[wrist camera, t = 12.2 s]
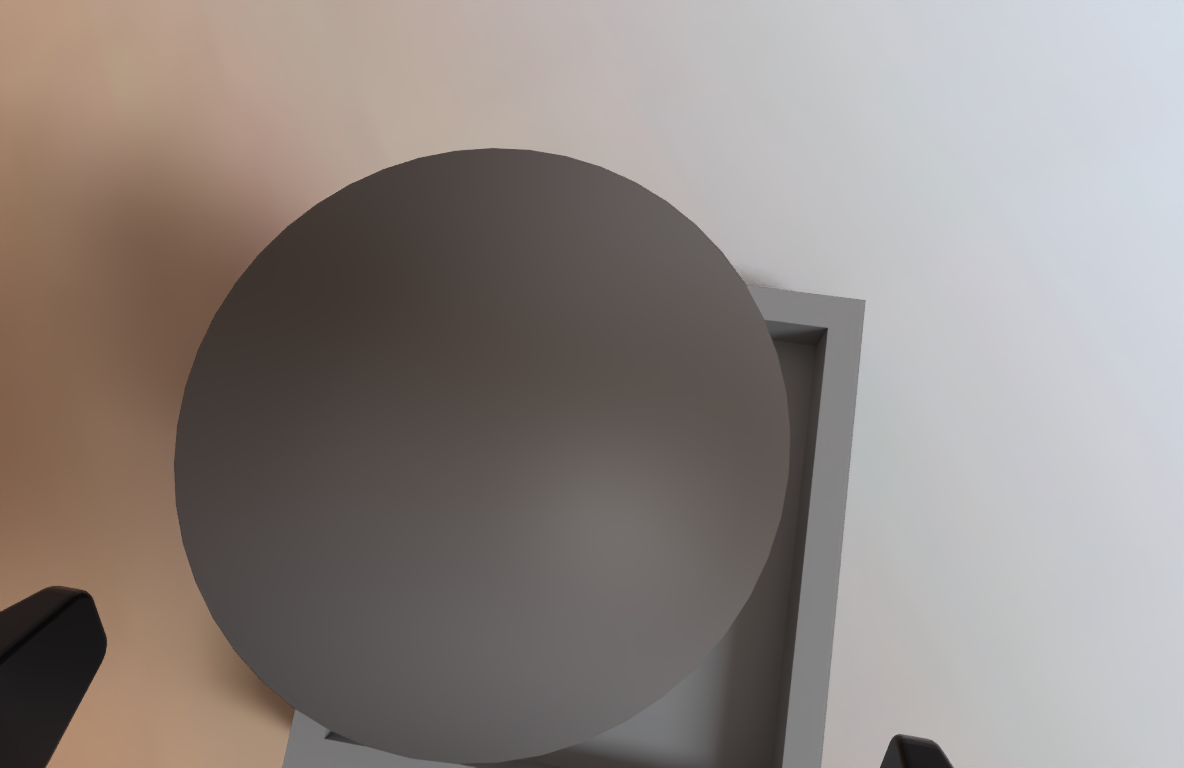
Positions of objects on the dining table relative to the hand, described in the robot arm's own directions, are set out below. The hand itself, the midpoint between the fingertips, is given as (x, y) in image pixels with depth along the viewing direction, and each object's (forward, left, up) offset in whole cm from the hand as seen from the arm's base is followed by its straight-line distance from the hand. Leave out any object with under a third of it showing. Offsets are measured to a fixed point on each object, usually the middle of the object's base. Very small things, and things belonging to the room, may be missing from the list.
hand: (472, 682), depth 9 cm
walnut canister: (+2, +1, -12) cm, 12 cm away
